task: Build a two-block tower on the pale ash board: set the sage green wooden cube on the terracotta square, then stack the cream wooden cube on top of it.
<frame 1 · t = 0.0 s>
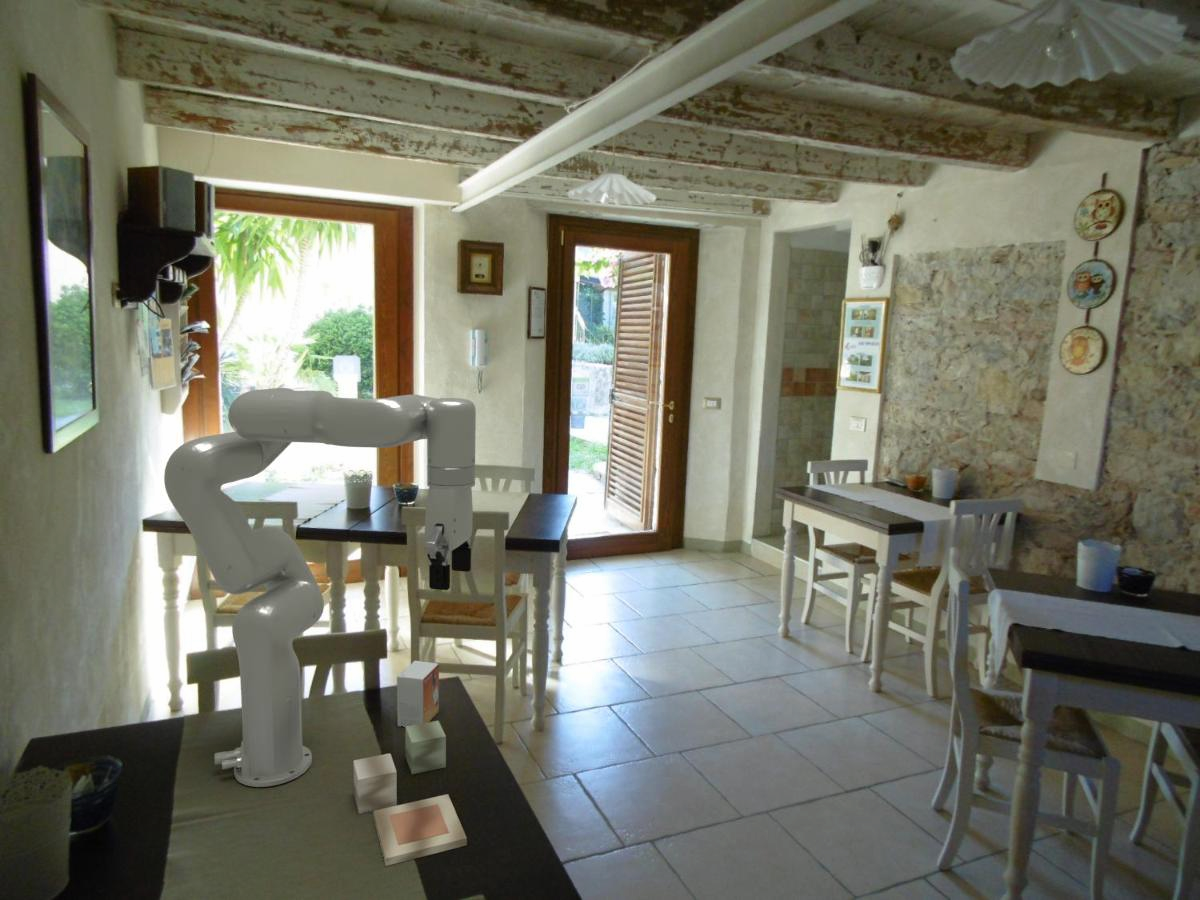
hand: (450, 579, 122), 37 cm above the table, tool pointing down, fingers open, 9 cm apart
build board: (418, 831, 117), on the table
sage block: (425, 762, 136), on the table
cream block: (375, 799, 124), on the table
small box: (418, 719, 151), on the table
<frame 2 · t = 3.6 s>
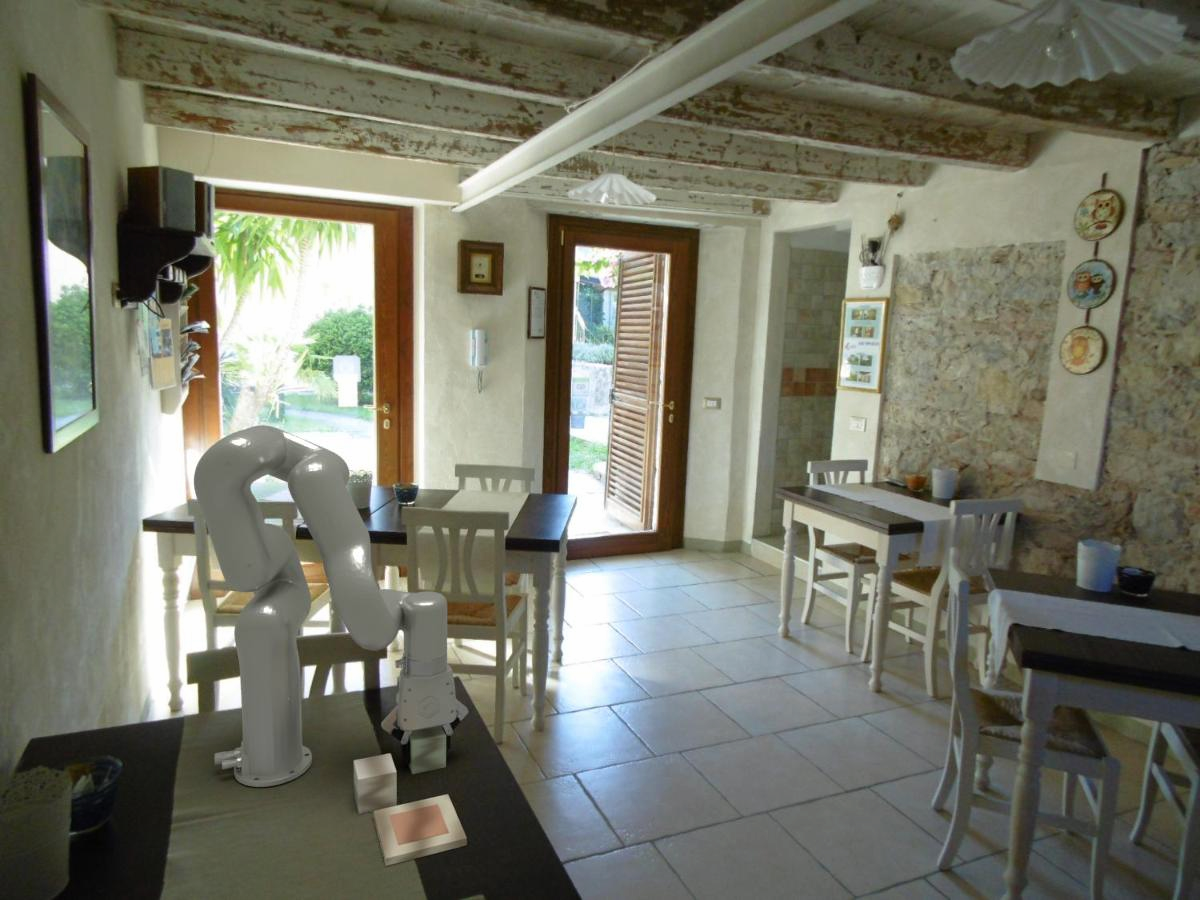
hand: (425, 755, 136), 1 cm above the table, tool pointing down, fingers closed on sage block, 6 cm apart
sage block: (425, 761, 136), on the table, touching gripper
everything else where it was.
when the fingers open (4 cm above the table, at t = 10.3 s): sage block drops 1 cm, resting on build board.
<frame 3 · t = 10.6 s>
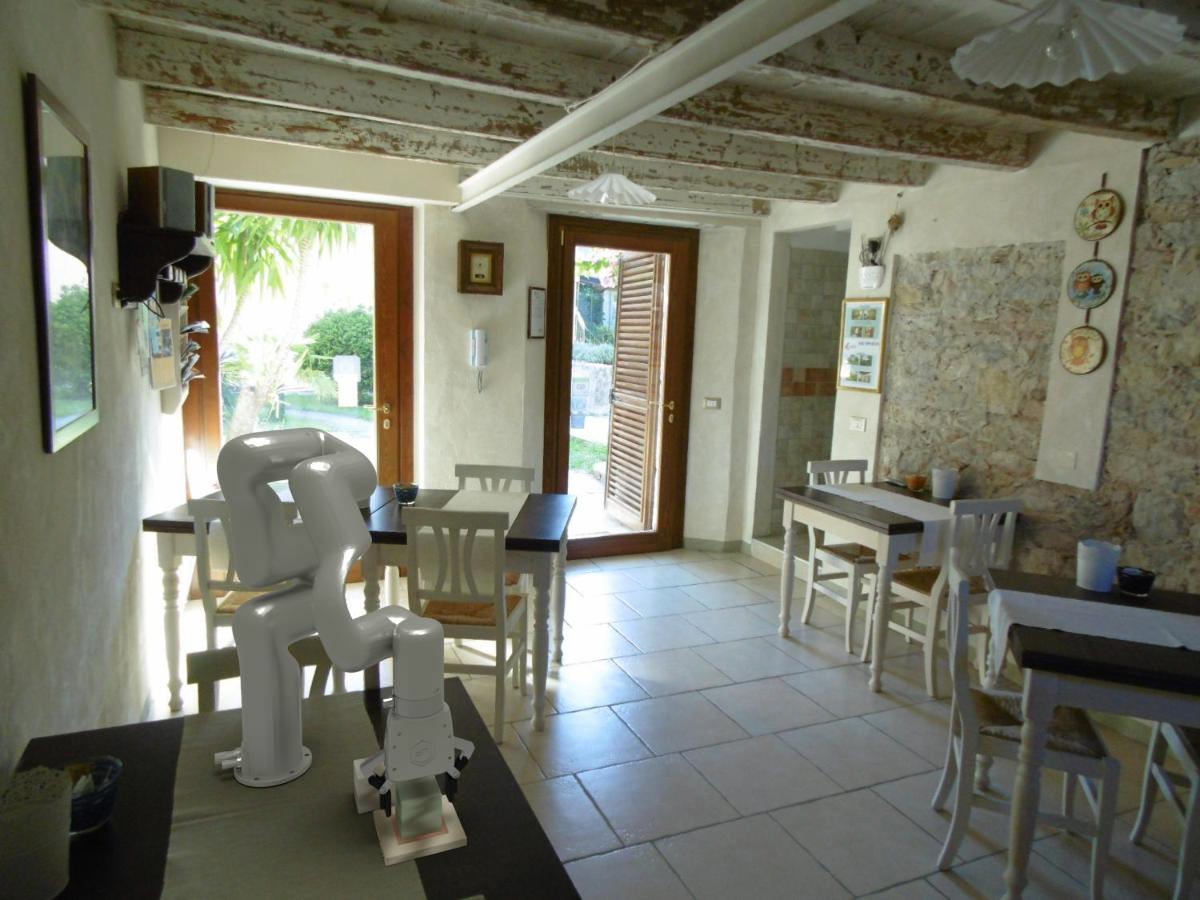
hand: (418, 804, 116), 4 cm above the table, tool pointing down, fingers open, 9 cm apart
sage block: (418, 823, 116), point 1 cm above the table, touching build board
everything else where it was.
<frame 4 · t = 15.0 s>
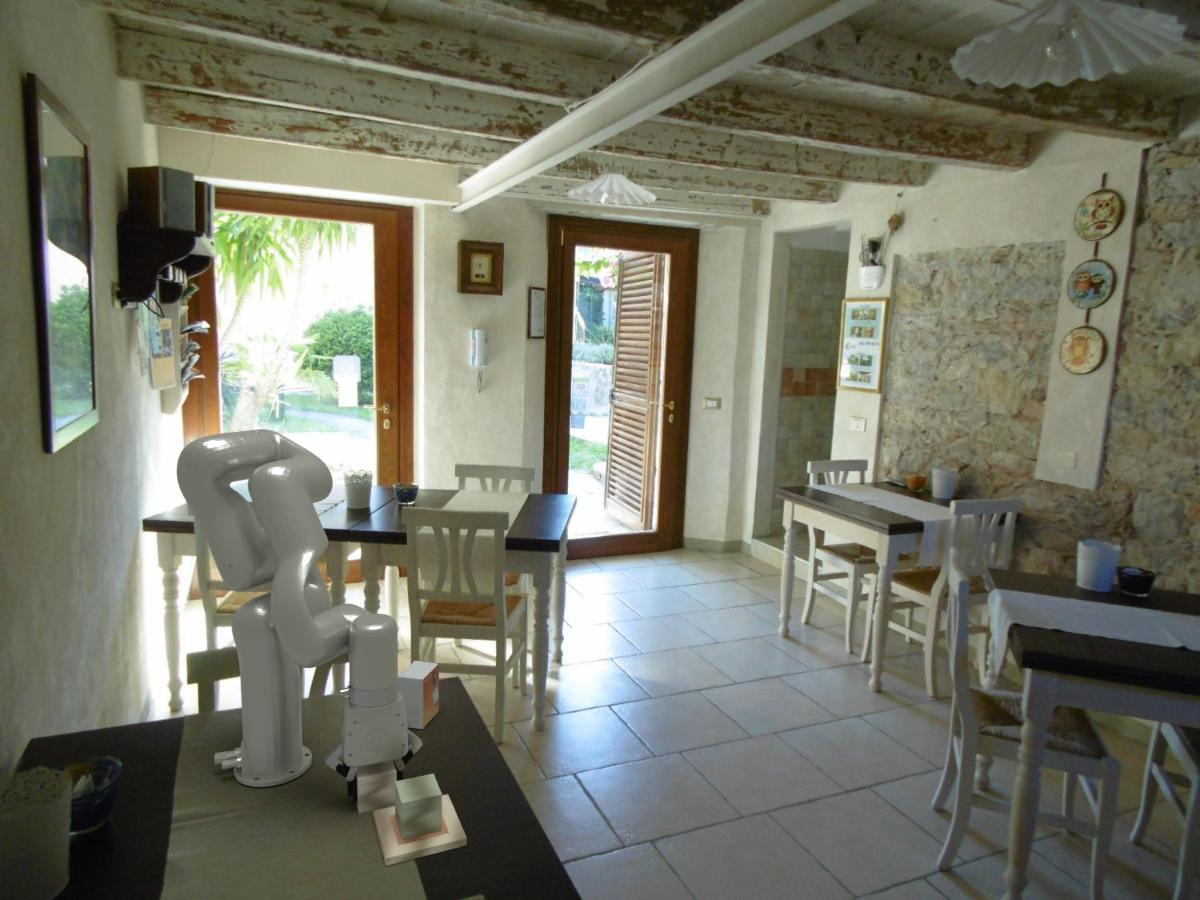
hand: (375, 792, 124), 1 cm above the table, tool pointing down, fingers closed on cream block, 6 cm apart
cream block: (375, 799, 124), on the table, touching gripper
everything else where it was.
when the fingers open (10 cm above the table, at t = 20.2 s): cream block drops 1 cm, resting on sage block.
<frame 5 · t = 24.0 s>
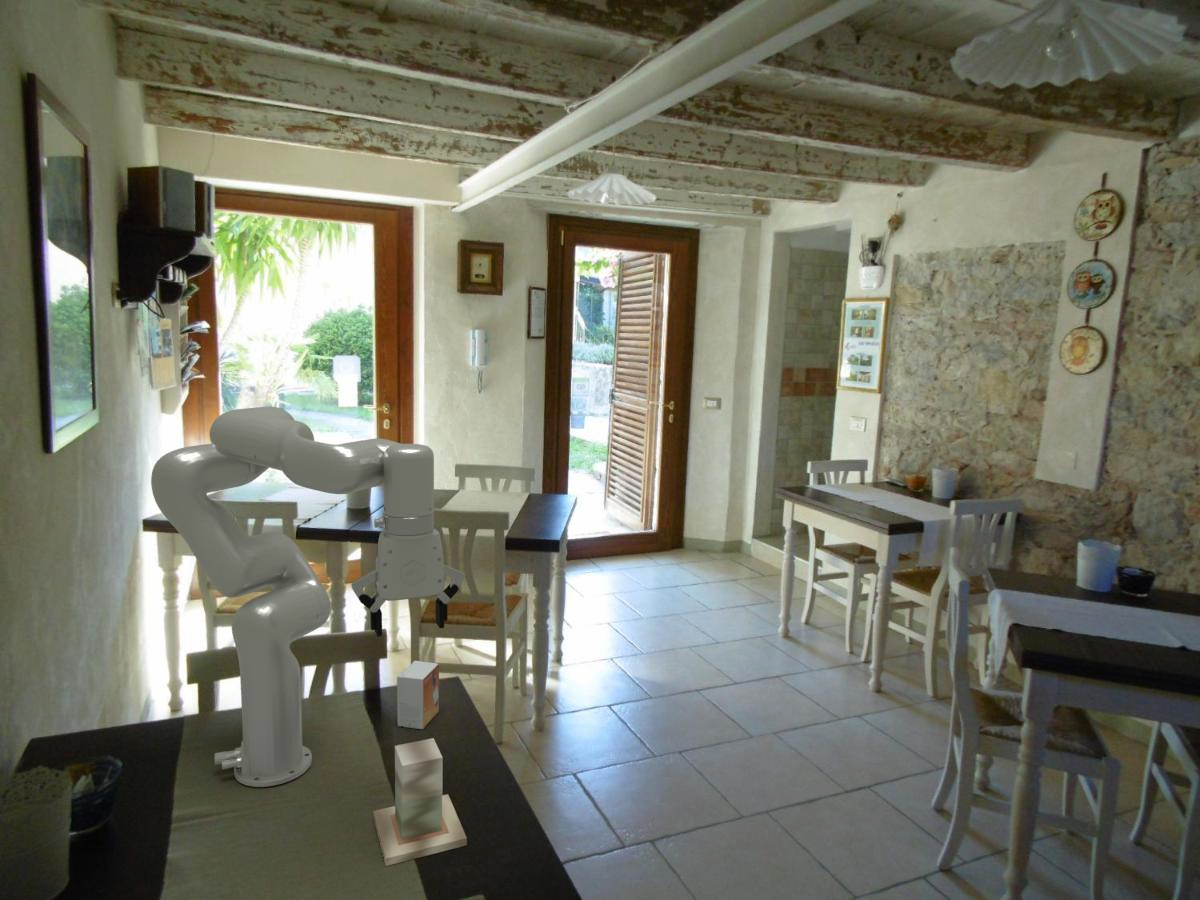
hand: (409, 629, 119), 30 cm above the table, tool pointing down, fingers open, 9 cm apart
sage block: (418, 823, 116), point 1 cm above the table, touching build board, cream block
cream block: (418, 787, 116), point 7 cm above the table, touching sage block
everything else where it was.
at the end: sage block 0.1 cm off-centre on the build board, point 1.3 cm above the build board's base; cream block 0.1 cm off-centre on the sage block, point 6.0 cm above the sage block's base; cream block tilted 0° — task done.
